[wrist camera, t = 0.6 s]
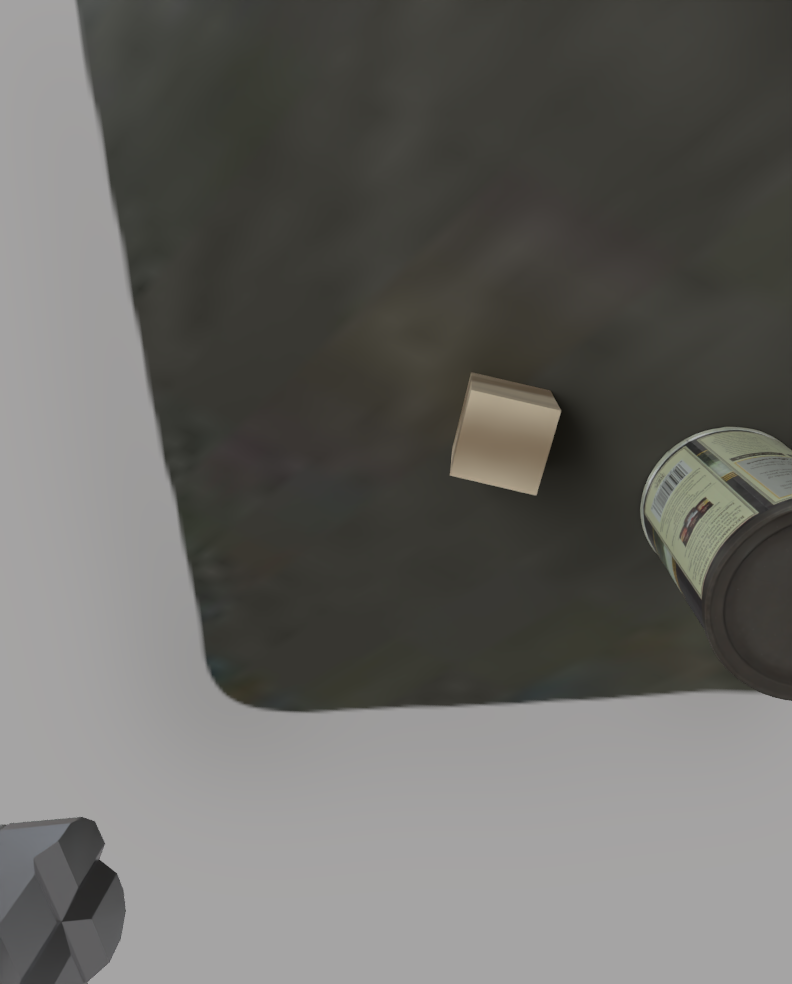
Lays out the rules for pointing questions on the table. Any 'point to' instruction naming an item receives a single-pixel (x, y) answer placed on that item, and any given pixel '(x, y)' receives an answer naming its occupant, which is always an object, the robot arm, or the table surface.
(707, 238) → the table surface
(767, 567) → the coffee can
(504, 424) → the beech block
